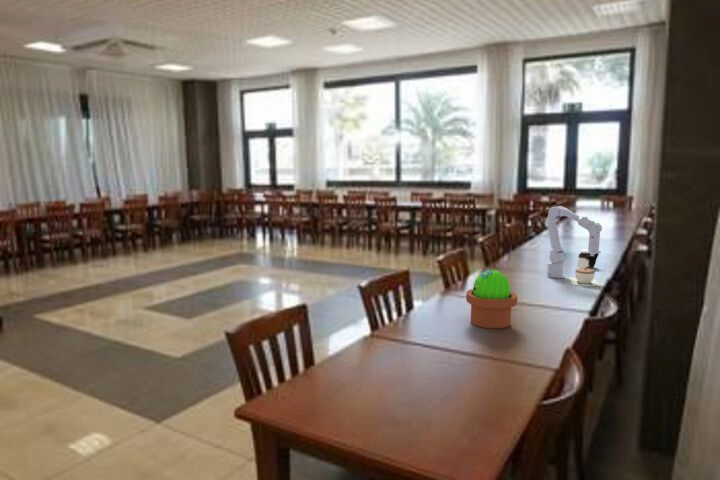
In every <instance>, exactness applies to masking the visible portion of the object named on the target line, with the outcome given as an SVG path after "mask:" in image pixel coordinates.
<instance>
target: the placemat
mask: <svg viewBox="0 0 720 480" xmlns="http://www.w3.org/2000/svg"><path fill="white" fill-rule="evenodd" d="M568 279H569V281H570V282H571V284H572V285H573V286H584V287H585V286H587V287H602V286H601V284H600V283H599V281H598V280H596V278H594V279H593V281H592V282H590V284H582V283H579V281H578V280H577V279H576V277H568Z"/></svg>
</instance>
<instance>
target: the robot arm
mask: <svg viewBox="0 0 720 480" xmlns="http://www.w3.org/2000/svg"><path fill="white" fill-rule="evenodd" d="M547 212H548V214H547V218H546V225H547V230H548V236H549V241H550V242H549V243H550V246H551V249H550V250H549V261H550V262H547V267H546V276H547V278H555V279H556V278H558V279H559V278H560V279H565V275H563V273H564V261H565V260H566V258H567V256H566V253H565V252H564V248H562V246H561V240H560V237H559V236H560V235H559V229H558V225H557V224H558V220H560V218H561V217H568V218H569V219H570V220H571V219H572V220H574V221H575V222H576V223H577V224H578V226H580V227H581V228H582V229H583V228H584V229H585V230H587V231H588V233H589V235H588V247H587V248H588V249H587V250H588V253H589V255H587V257H588V260H589V266H590V267H591V268H593V269H594V267H595V266H596V262H597V259H598V257H599V256H600V254H601V253H602V251H599V250H600V239H601V237H600V236H601V232H602V230H603V226H602V225H601V224H600V223H599V222H595V221H594V220H591V219H589V217H587V216H579V215H578V214H576V213H575V212H574V211H572V210H570V209H568V208H567V207H565V206H563V205H559V206H552V207H550V208H549V210H548V211H547ZM591 268H590V269H591Z"/></svg>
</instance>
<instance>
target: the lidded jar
mask: <svg viewBox="0 0 720 480" xmlns="http://www.w3.org/2000/svg"><path fill="white" fill-rule="evenodd" d="M574 270H575V278H576V279H577V280H578V281H579V283H582V284H590V282H592V281H593V279H595V275H596V270H595V269H591V268H586V267H584V268H579V267H578V268H576V269H574Z"/></svg>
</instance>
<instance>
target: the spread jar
mask: <svg viewBox="0 0 720 480" xmlns="http://www.w3.org/2000/svg"><path fill="white" fill-rule="evenodd" d="M580 251H581V252H580V253H579V254H578V256H577V262H576V263H577V267H578V268H584V267H586V268H587V269H591V267H590V266H589V260H588V257H587V255H589V253H588V249H581V250H580Z"/></svg>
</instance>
